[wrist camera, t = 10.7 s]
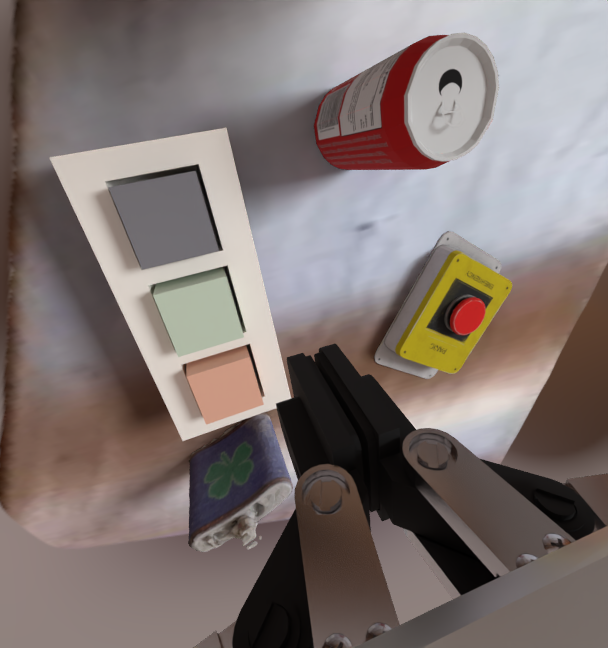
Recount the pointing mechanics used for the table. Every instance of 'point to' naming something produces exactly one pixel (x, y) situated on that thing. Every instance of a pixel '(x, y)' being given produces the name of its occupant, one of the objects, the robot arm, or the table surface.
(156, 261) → the charcoal key
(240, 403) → the terracotta key
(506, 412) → the table surface
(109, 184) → the key block
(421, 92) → the soda can
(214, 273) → the sage key
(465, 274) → the emergency button
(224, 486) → the flask
